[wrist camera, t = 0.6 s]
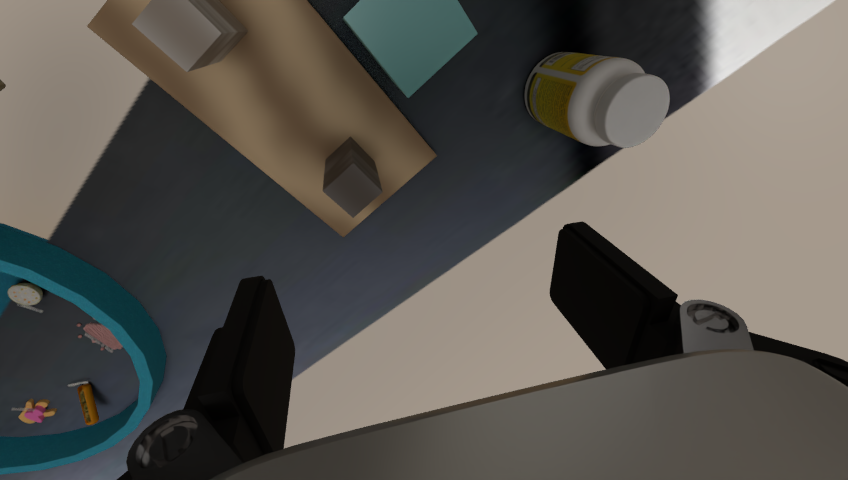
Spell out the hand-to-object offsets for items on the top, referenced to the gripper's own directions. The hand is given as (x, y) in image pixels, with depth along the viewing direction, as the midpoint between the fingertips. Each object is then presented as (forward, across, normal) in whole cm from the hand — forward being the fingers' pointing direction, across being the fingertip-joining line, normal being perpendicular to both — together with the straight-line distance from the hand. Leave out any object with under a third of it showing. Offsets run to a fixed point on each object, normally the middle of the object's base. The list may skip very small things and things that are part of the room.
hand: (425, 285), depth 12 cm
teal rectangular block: (+23, -3, -7) cm, 25 cm away
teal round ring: (+24, +40, +17) cm, 50 cm away
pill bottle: (+23, -17, -1) cm, 29 cm away
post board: (+23, +6, -2) cm, 24 cm away
